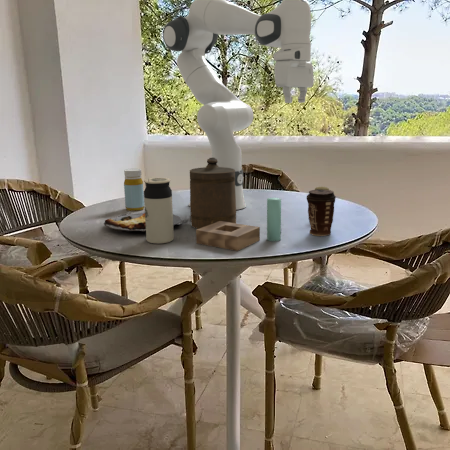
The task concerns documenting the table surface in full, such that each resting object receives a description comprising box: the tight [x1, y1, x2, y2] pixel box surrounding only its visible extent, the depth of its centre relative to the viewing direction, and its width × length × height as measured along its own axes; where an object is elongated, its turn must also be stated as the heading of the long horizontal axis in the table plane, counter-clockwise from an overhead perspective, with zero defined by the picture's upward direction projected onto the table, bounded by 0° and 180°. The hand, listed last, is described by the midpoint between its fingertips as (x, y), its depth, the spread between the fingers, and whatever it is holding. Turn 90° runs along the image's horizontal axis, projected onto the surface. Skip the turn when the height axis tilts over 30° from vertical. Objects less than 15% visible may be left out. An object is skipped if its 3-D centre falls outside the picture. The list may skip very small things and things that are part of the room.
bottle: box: [123, 168, 145, 212], centre depth 182 cm, size 7×7×15 cm
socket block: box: [195, 221, 261, 252], centre depth 140 cm, size 14×12×4 cm
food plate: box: [103, 211, 183, 233], centre depth 159 cm, size 25×23×4 cm
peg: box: [266, 197, 282, 242], centre depth 141 cm, size 4×4×12 cm
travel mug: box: [143, 177, 175, 245], centre depth 141 cm, size 8×8×18 cm
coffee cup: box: [306, 189, 337, 237], centre depth 146 cm, size 9×8×13 cm
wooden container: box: [189, 157, 237, 230], centre depth 157 cm, size 15×15×22 cm
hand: (295, 102), depth 150 cm, fingers open, 8 cm apart
